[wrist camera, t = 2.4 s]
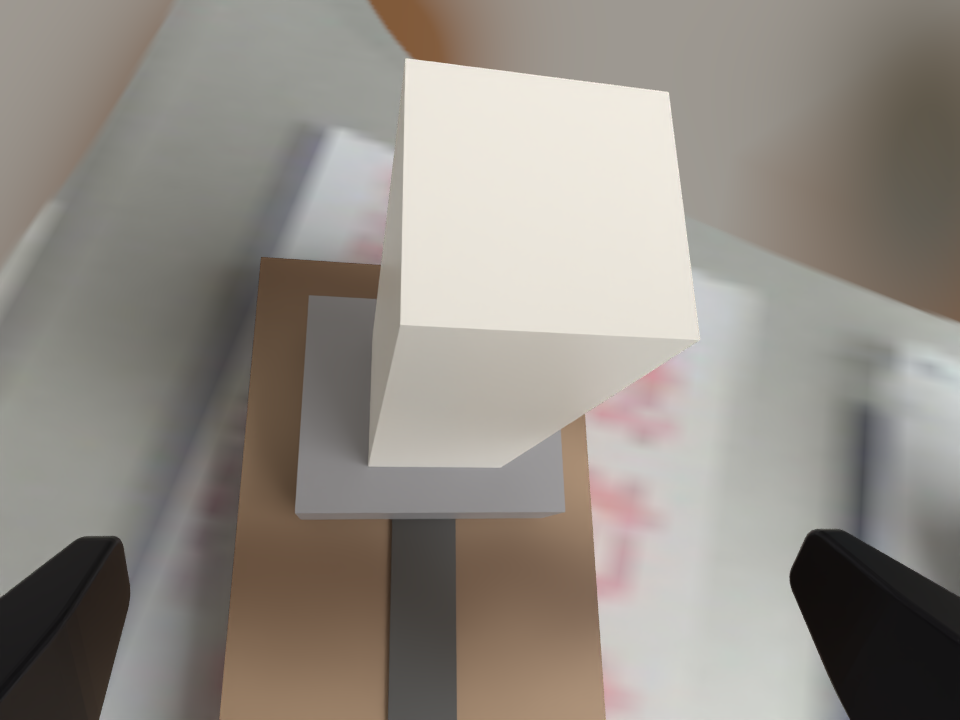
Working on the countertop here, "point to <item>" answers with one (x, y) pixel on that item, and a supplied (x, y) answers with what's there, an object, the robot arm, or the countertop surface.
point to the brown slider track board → (395, 573)
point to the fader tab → (496, 297)
